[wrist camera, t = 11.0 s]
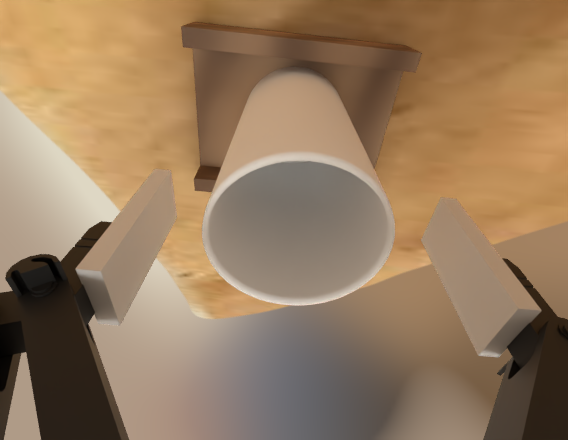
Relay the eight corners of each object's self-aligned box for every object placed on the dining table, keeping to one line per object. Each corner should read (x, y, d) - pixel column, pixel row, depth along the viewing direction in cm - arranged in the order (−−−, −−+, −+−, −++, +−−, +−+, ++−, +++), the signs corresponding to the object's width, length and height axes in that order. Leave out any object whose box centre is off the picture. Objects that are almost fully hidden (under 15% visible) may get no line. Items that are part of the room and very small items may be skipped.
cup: (232, 79, 24) (168, 177, 12) (337, 55, 23) (396, 134, 10) (258, 171, 29) (234, 314, 16) (347, 155, 28) (396, 295, 15)
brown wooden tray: (406, 45, 24) (421, 53, 21) (365, 186, 31) (373, 206, 28) (194, 21, 23) (181, 26, 20) (203, 172, 30) (194, 190, 28)
